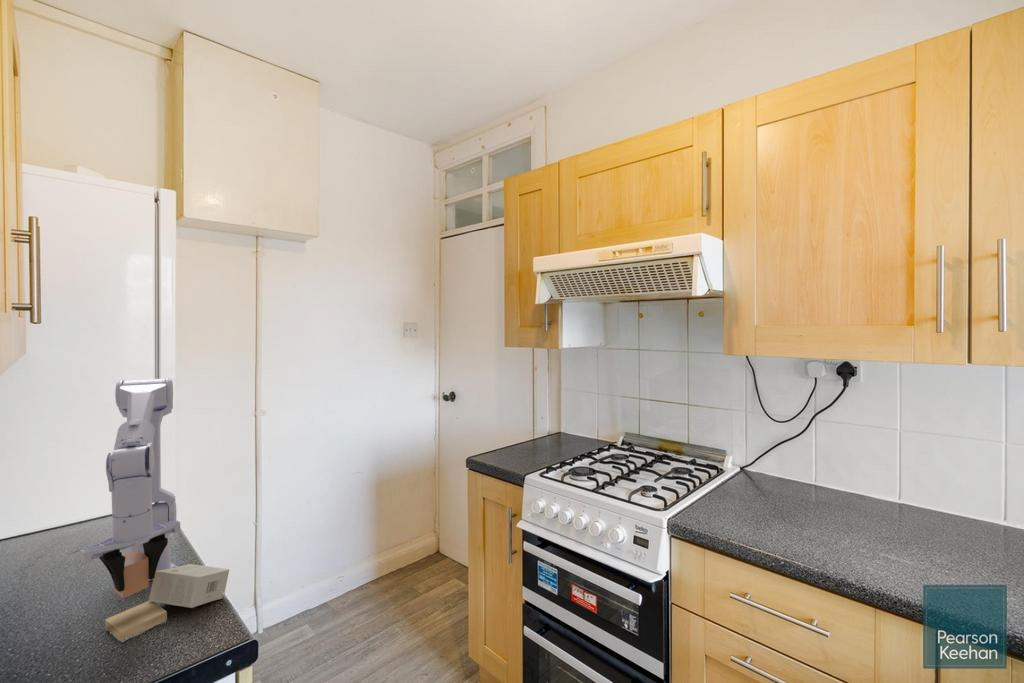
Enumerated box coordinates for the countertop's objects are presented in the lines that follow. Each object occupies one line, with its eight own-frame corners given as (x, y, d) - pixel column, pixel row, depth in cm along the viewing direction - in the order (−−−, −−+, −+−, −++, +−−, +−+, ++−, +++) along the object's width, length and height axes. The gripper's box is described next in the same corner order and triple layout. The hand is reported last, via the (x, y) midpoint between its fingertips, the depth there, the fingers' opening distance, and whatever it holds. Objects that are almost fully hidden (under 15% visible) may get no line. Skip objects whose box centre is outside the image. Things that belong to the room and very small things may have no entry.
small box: (224, 598, 95) (183, 592, 97) (230, 568, 96) (189, 563, 99) (190, 609, 87) (146, 602, 90) (197, 576, 89) (154, 570, 91)
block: (113, 589, 86) (113, 559, 86) (139, 578, 90) (139, 550, 89) (122, 598, 84) (122, 568, 84) (148, 587, 88) (148, 557, 87)
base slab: (105, 629, 85) (105, 619, 85) (150, 609, 91) (150, 599, 91) (121, 643, 81) (120, 632, 81) (167, 621, 87) (166, 611, 87)
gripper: (89, 531, 77) (92, 611, 78) (187, 502, 89) (189, 571, 90) (74, 522, 81) (77, 598, 81) (170, 495, 93) (172, 561, 94)
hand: (135, 583), depth 86 cm, fingers closed on block, 4 cm apart
